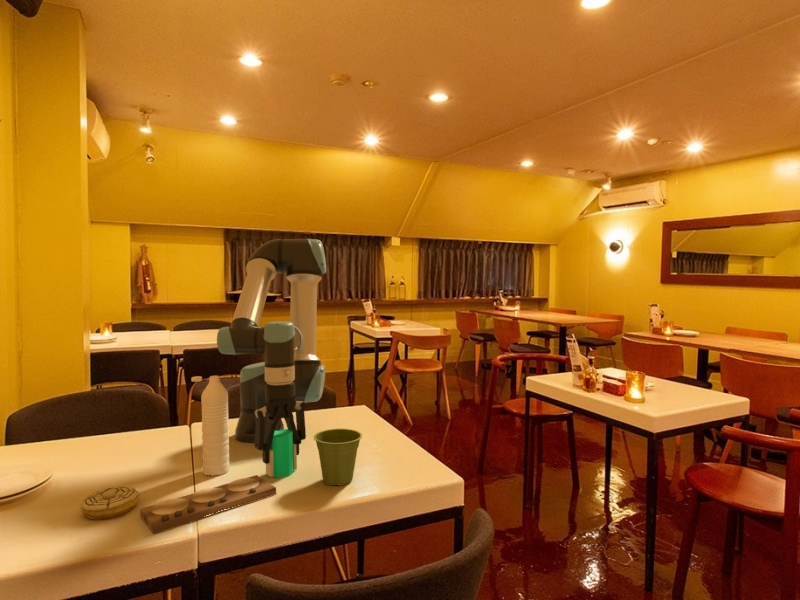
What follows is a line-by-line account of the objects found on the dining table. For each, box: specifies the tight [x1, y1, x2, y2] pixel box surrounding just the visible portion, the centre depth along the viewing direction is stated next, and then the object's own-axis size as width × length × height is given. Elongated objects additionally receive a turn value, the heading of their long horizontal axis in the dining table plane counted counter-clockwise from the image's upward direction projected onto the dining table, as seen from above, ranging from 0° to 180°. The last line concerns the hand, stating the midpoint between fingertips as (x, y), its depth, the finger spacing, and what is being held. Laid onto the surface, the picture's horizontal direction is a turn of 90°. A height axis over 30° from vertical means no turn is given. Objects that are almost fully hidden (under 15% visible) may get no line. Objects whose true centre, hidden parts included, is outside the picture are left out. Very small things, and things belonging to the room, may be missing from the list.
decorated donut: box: [79, 486, 140, 521], centre depth 103 cm, size 10×11×4 cm
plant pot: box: [313, 428, 363, 486], centre depth 118 cm, size 12×12×11 cm
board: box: [139, 475, 277, 535], centre depth 105 cm, size 10×26×2 cm, turn 132°
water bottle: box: [190, 375, 230, 477], centre depth 123 cm, size 9×6×25 cm
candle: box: [270, 428, 294, 478], centre depth 123 cm, size 6×6×12 cm
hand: (281, 471), depth 123 cm, fingers closed on candle, 6 cm apart
